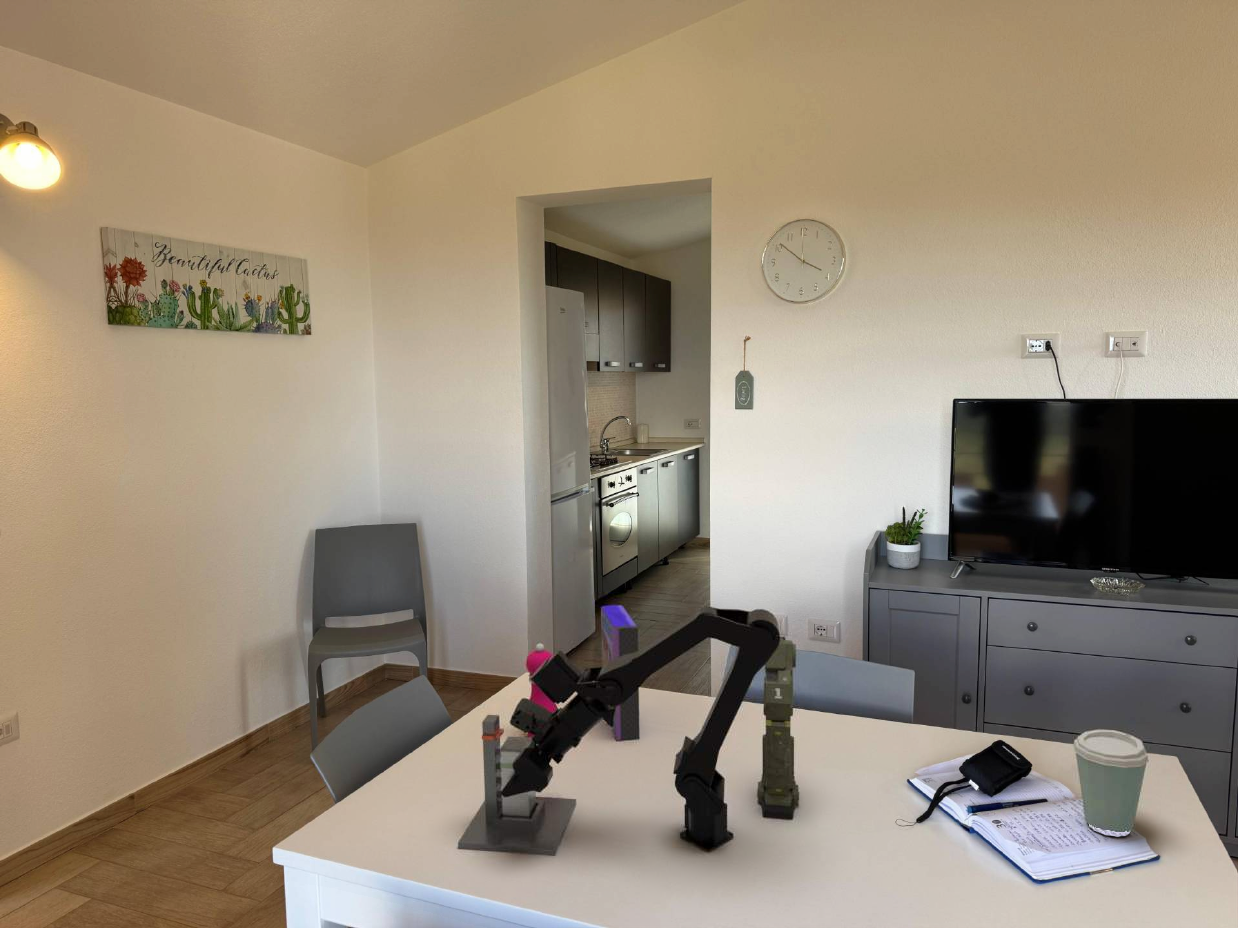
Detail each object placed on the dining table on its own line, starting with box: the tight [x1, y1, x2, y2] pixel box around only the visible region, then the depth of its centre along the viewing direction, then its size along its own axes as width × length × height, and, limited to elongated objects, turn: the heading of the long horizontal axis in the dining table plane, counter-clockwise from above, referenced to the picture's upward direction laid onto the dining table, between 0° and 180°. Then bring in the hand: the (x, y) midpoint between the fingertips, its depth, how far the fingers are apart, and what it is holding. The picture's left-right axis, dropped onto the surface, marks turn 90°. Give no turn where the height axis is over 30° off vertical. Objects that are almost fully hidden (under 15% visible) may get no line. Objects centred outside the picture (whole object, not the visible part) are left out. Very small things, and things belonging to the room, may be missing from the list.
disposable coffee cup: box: [1072, 729, 1149, 832], centre depth 137 cm, size 11×11×15 cm
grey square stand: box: [457, 714, 577, 856], centre depth 140 cm, size 16×16×18 cm
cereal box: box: [600, 604, 641, 742], centre depth 181 cm, size 17×5×24 cm, turn 10°
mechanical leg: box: [756, 636, 800, 821], centre depth 147 cm, size 14×7×30 cm, turn 168°
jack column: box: [500, 736, 537, 819], centre depth 141 cm, size 5×5×13 cm
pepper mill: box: [525, 643, 558, 738], centre depth 176 cm, size 7×7×20 cm
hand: (510, 781), depth 141 cm, fingers open, 9 cm apart
